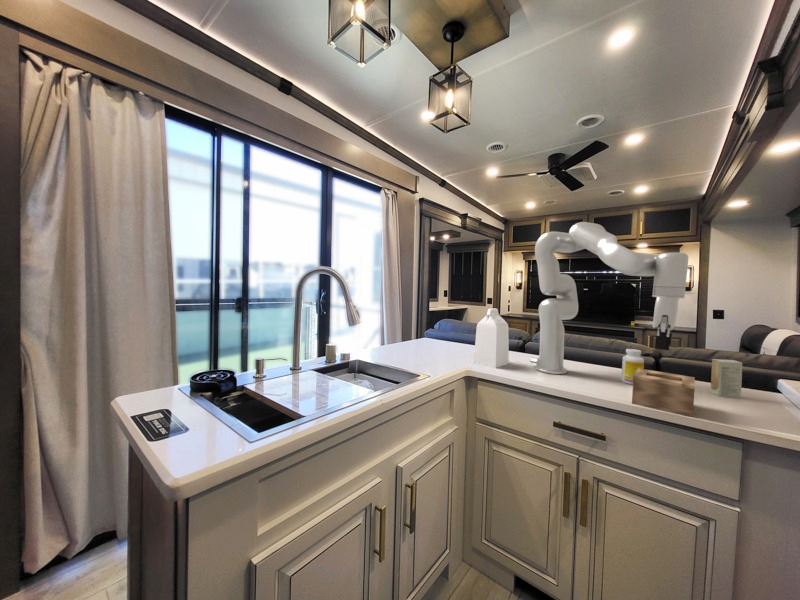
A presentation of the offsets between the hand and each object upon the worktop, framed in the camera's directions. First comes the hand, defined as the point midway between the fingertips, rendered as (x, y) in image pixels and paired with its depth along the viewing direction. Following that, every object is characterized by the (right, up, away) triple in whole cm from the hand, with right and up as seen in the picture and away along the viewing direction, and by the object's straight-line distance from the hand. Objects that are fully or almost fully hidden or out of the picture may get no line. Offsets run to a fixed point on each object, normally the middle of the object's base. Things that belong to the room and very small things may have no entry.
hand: (662, 346), depth 96 cm
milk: (-40, -16, +48) cm, 64 cm away
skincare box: (+30, -18, +9) cm, 36 cm away
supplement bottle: (+7, -18, +22) cm, 29 cm away
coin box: (0, -18, 0) cm, 18 cm away
